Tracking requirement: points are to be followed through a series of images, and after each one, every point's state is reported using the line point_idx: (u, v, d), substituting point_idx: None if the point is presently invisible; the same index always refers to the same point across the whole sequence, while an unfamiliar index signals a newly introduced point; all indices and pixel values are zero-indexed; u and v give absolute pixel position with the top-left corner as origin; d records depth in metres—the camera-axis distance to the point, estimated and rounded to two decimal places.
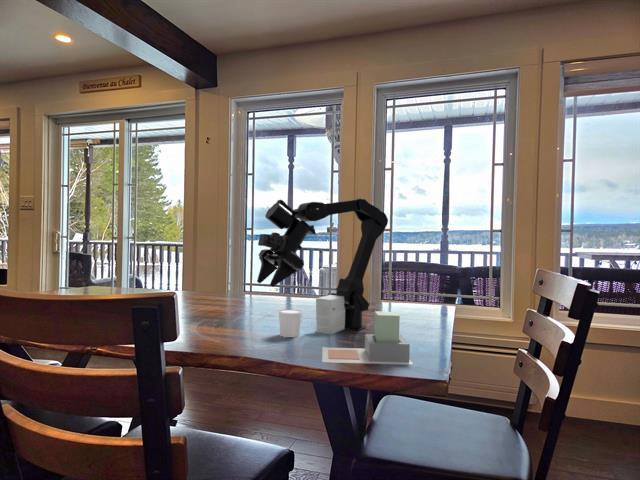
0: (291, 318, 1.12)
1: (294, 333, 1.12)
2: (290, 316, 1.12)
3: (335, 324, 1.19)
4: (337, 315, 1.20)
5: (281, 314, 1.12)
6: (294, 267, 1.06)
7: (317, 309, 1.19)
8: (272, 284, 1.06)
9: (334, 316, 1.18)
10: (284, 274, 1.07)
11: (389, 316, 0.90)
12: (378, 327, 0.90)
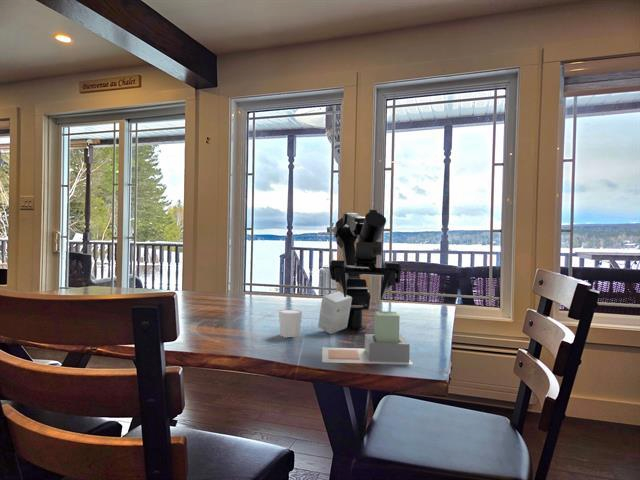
0: (291, 318, 1.12)
1: (294, 333, 1.12)
2: (290, 316, 1.12)
3: (337, 324, 1.18)
4: (341, 315, 1.18)
5: (281, 314, 1.12)
6: None
7: (322, 306, 1.18)
8: (382, 296, 0.99)
9: (337, 317, 1.17)
10: (386, 286, 1.02)
11: (389, 316, 0.90)
12: (378, 327, 0.90)
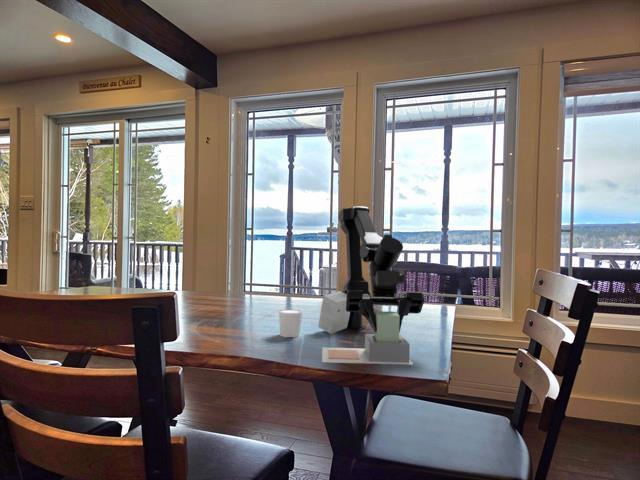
0: (291, 318, 1.12)
1: (294, 333, 1.12)
2: (290, 316, 1.12)
3: (337, 325, 1.18)
4: (342, 316, 1.18)
5: (281, 314, 1.12)
6: None
7: (322, 306, 1.18)
8: None
9: (337, 317, 1.17)
10: None
11: (389, 316, 0.90)
12: (378, 327, 0.90)
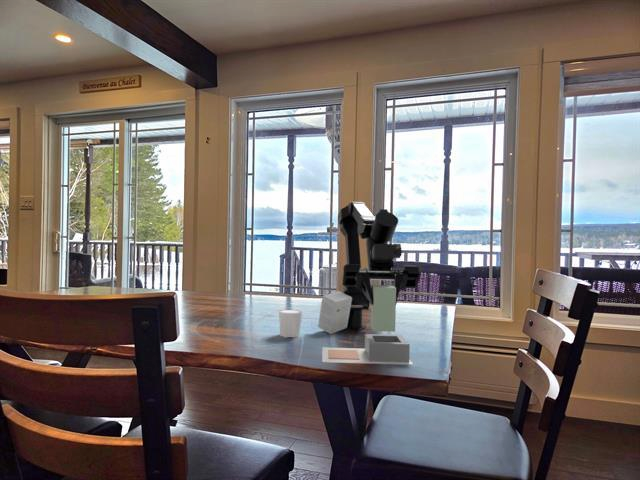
0: (291, 318, 1.12)
1: (294, 333, 1.12)
2: (290, 316, 1.12)
3: (337, 324, 1.18)
4: (341, 315, 1.18)
5: (281, 314, 1.12)
6: None
7: (322, 306, 1.18)
8: (396, 302, 0.91)
9: (337, 317, 1.17)
10: None
11: (386, 288, 0.90)
12: (375, 299, 0.90)
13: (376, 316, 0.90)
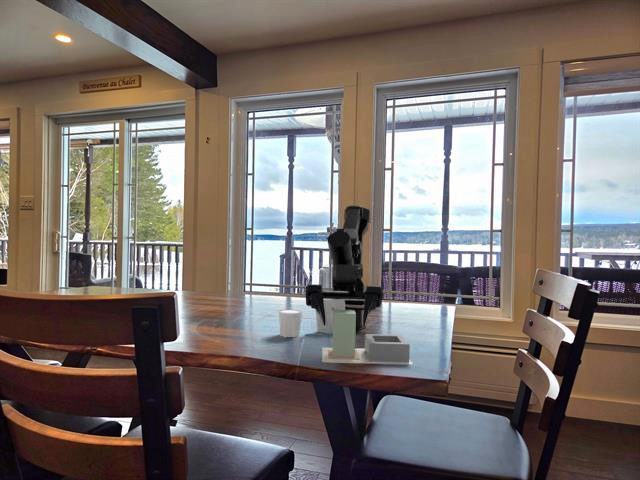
0: (291, 318, 1.12)
1: (294, 333, 1.12)
2: (290, 316, 1.12)
3: None
4: None
5: (281, 314, 1.12)
6: None
7: None
8: (365, 323, 0.91)
9: None
10: None
11: (345, 314, 0.90)
12: (334, 325, 0.90)
13: (336, 342, 0.90)
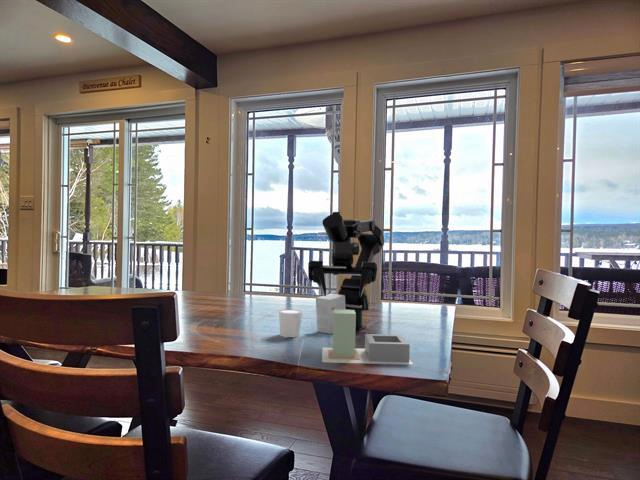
0: (291, 318, 1.12)
1: (294, 333, 1.12)
2: (290, 316, 1.12)
3: None
4: None
5: (281, 314, 1.12)
6: None
7: (317, 309, 1.19)
8: (361, 294, 1.03)
9: None
10: (364, 285, 1.06)
11: (345, 314, 0.90)
12: (334, 325, 0.90)
13: (336, 342, 0.90)
